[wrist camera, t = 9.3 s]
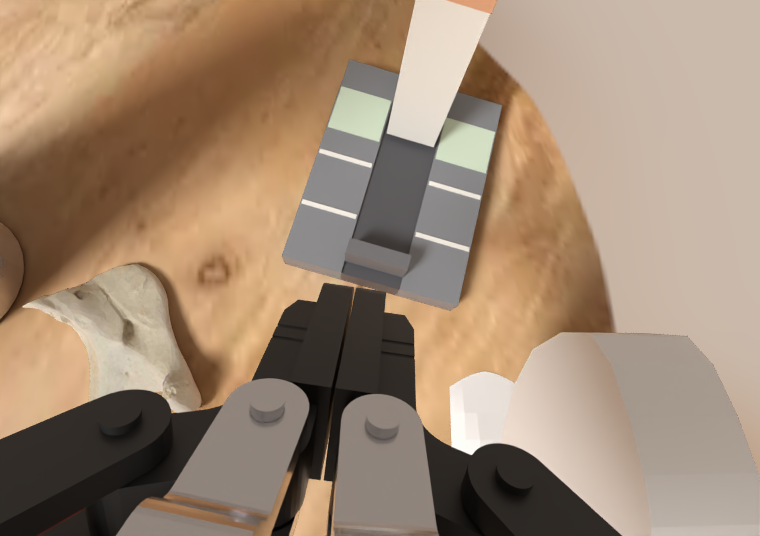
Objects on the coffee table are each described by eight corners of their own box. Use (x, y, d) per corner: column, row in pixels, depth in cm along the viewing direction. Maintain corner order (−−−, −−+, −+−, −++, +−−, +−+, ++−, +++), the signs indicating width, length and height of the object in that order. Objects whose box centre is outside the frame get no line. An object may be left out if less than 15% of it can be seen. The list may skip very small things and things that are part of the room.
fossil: (111, 459, 27) (82, 469, 24) (48, 304, 29) (12, 293, 26) (218, 401, 29) (204, 403, 26) (151, 257, 31) (130, 242, 27)
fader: (385, 133, 32) (421, -33, 19) (398, 92, 33) (439, -92, 20) (433, 148, 32) (500, -9, 19) (444, 106, 33) (515, -68, 20)
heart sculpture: (538, 617, 27) (898, 1017, 10) (457, 621, 27) (689, 1049, 9) (519, 357, 31) (751, 319, 14) (448, 356, 31) (599, 316, 13)
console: (284, 263, 31) (278, 246, 27) (348, 77, 36) (350, 39, 32) (450, 310, 32) (466, 300, 28) (493, 120, 36) (512, 88, 32)
